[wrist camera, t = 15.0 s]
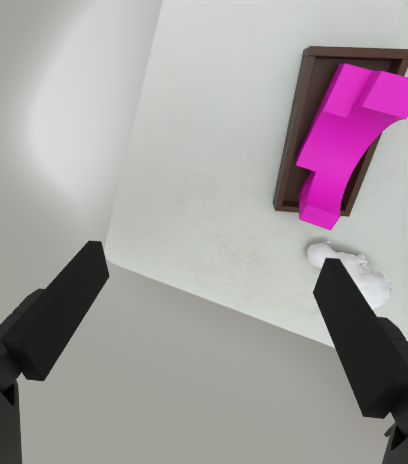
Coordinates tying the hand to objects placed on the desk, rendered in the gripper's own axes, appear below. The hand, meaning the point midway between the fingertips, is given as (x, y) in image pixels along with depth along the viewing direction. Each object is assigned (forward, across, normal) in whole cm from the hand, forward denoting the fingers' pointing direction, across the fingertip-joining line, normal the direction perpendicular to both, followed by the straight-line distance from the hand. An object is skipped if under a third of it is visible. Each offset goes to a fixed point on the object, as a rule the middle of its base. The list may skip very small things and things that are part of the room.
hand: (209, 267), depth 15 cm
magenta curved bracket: (+22, +14, +4) cm, 26 cm away
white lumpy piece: (+23, +20, -14) cm, 33 cm away
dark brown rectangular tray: (+23, +13, +4) cm, 27 cm away
